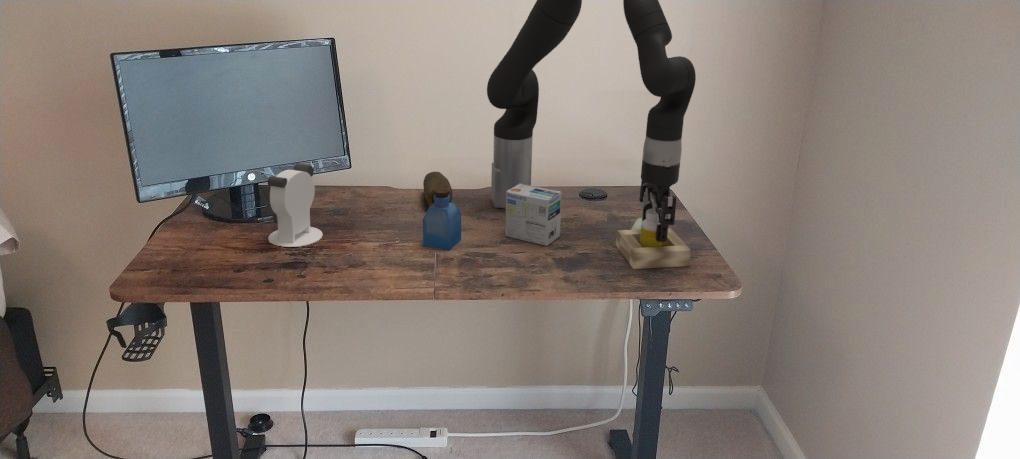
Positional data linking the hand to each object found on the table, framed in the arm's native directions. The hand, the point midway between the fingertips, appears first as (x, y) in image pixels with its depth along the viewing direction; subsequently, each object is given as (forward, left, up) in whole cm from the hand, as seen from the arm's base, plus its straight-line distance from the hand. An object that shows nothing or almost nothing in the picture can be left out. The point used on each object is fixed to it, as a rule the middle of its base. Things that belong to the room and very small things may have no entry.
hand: (653, 233), depth 162 cm
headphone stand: (-74, +19, -5) cm, 77 cm away
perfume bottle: (-43, +12, -5) cm, 45 cm away
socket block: (0, 0, -5) cm, 5 cm away
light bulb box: (-23, +13, -5) cm, 27 cm away
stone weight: (-42, +37, -6) cm, 56 cm away
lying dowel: (+2, +11, -4) cm, 12 cm away
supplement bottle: (0, 0, -5) cm, 5 cm away
